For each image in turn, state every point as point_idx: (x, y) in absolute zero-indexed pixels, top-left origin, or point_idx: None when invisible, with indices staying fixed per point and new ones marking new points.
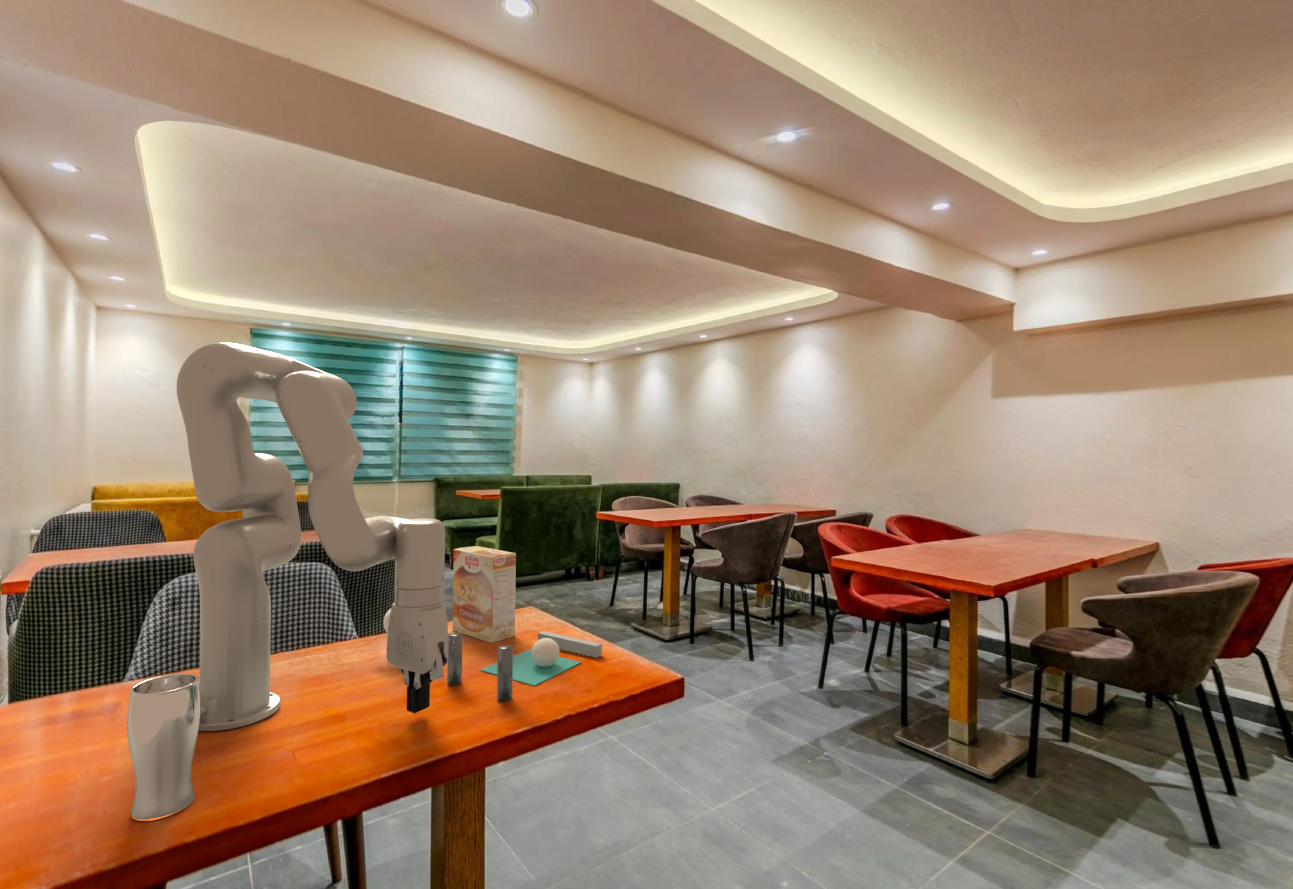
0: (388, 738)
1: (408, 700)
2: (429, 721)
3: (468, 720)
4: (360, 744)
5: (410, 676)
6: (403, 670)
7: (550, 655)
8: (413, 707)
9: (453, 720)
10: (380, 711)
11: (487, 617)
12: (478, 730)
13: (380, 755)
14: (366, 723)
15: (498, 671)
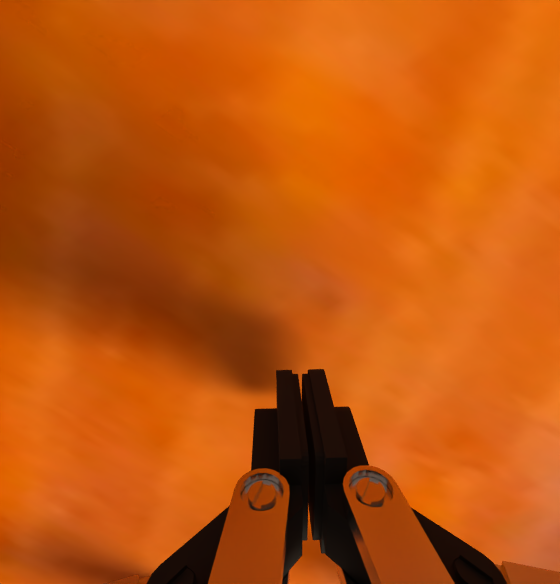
0: (242, 205)
1: (317, 401)
2: (235, 388)
3: (123, 462)
4: (300, 89)
5: (358, 540)
6: (443, 570)
7: None
8: (278, 386)
9: (167, 437)
10: (488, 338)
11: None
12: (20, 436)
13: (118, 74)
14: (454, 239)
15: None
